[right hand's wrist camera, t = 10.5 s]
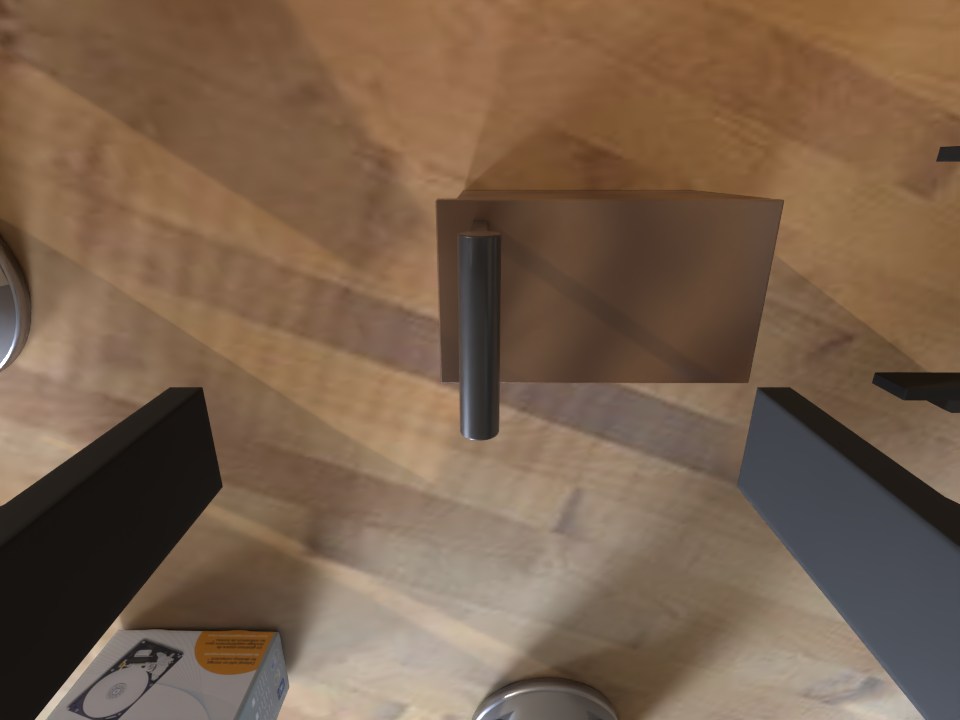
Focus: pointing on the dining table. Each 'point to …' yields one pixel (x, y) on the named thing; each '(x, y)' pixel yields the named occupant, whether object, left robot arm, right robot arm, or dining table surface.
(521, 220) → the chest lid with handle
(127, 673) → the hard drive box
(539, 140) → the dining table surface
